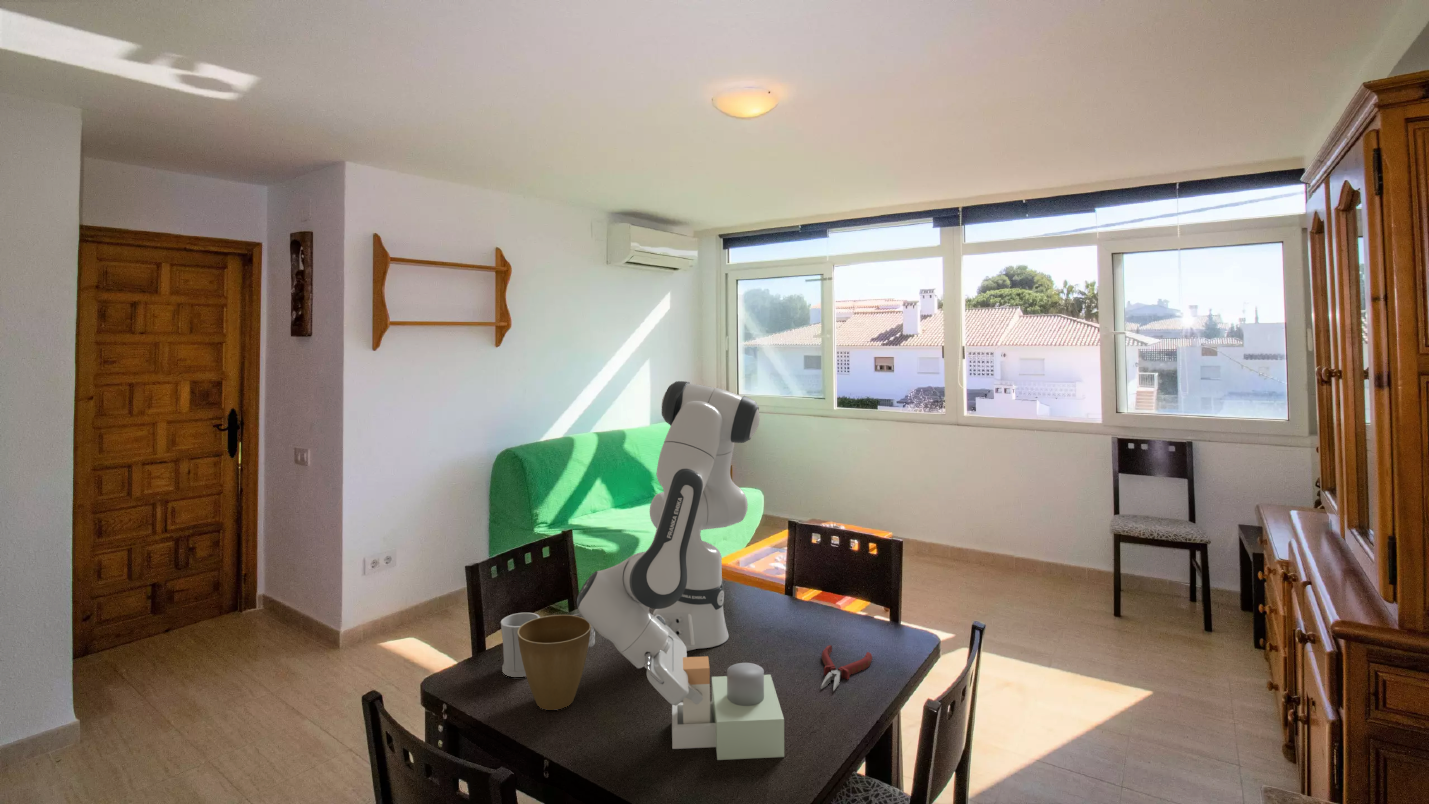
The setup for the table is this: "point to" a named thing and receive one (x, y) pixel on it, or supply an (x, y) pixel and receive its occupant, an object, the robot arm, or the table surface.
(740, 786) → the table surface
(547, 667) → the plant pot
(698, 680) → the two-tone orange block
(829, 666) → the pliers
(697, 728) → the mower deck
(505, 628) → the cup
